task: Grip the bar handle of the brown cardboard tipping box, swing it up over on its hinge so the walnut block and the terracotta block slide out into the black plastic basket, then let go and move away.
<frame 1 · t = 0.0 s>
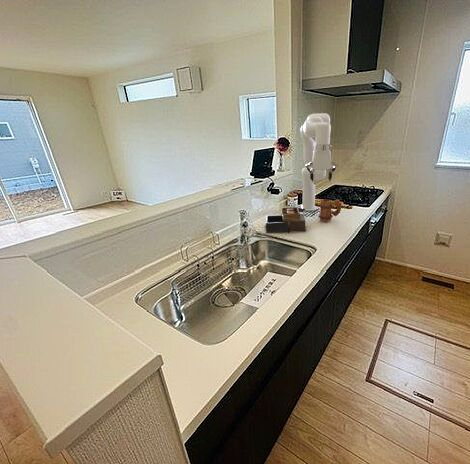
hand: (320, 180, 140), 31 cm above the table, tool pointing down, fingers open, 9 cm apart
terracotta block: (291, 218, 153), point 8 cm above the table, touching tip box
stand: (296, 227, 158), on the table
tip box: (293, 212, 154), point 10 cm above the table, hinge at 0.0°, touching stand, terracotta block, walnut block
basket: (277, 228, 158), on the table
mug: (329, 221, 168), on the table
walnut block: (290, 215, 158), point 8 cm above the table, touching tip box
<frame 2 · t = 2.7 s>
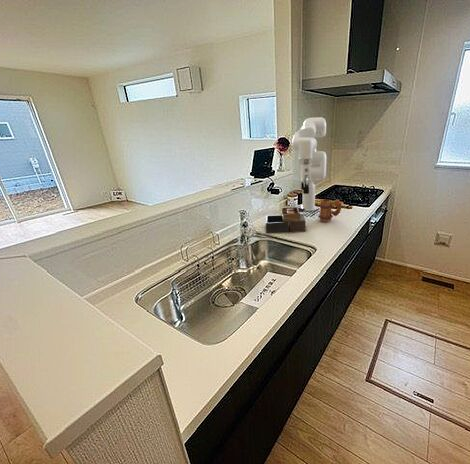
hand: (304, 191, 148), 24 cm above the table, tool pointing down, fingers open, 9 cm apart
nothing on the table moved.
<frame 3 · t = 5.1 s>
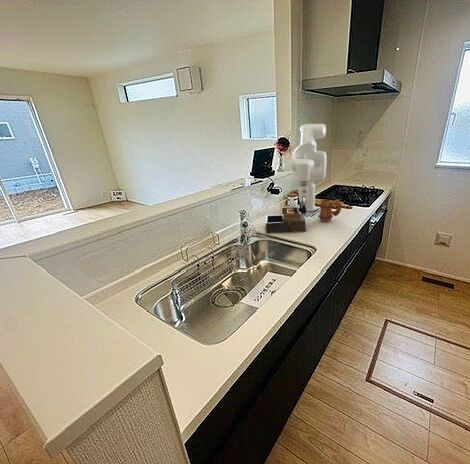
hand: (302, 211, 154), 11 cm above the table, tool pointing down, fingers closed on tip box, 6 cm apart
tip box: (293, 212, 154), point 10 cm above the table, hinge at 0.0°, touching gripper, stand, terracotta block, walnut block
everything else where it was.
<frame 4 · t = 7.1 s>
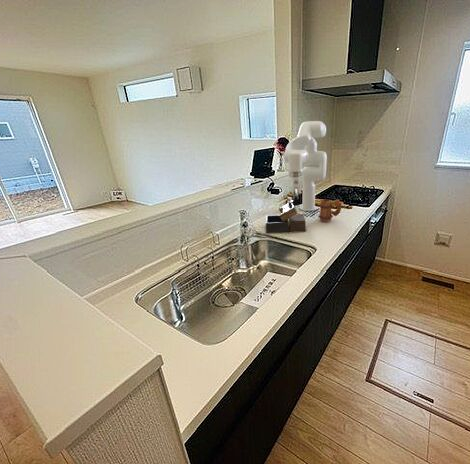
hand: (295, 203, 152), 16 cm above the table, tool pointing down, fingers closed on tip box, 6 cm apart
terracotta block: (289, 214, 152), point 10 cm above the table, tilted 30°, touching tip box
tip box: (289, 208, 153), point 13 cm above the table, hinge at 30.1°, touching gripper, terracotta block, walnut block
walnut block: (288, 211, 157), point 10 cm above the table, tilted 30°, touching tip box
everything else where it was.
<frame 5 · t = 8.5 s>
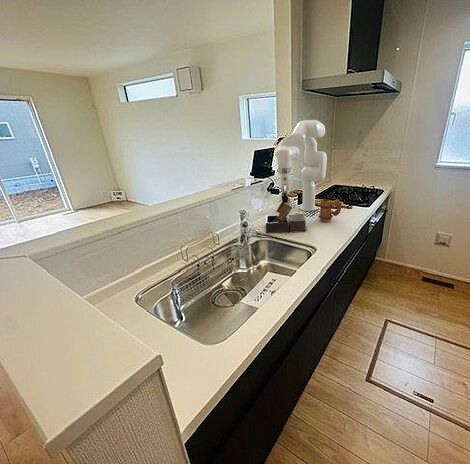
hand: (284, 200, 151), 18 cm above the table, tool pointing down, fingers closed on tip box, 6 cm apart
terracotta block: (276, 223, 154), point 5 cm above the table, tilted 180°, touching basket
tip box: (283, 206, 153), point 14 cm above the table, hinge at 56.5°, touching gripper
walnut block: (276, 220, 159), point 5 cm above the table, tilted 180°, touching basket
everything else where it was.
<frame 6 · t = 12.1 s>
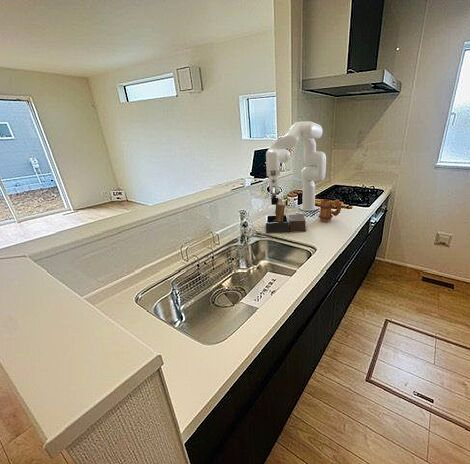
hand: (274, 202, 151), 17 cm above the table, tool pointing down, fingers open, 7 cm apart
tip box: (278, 207, 153), point 14 cm above the table, hinge at 83.1°, touching gripper
everything else where it was.
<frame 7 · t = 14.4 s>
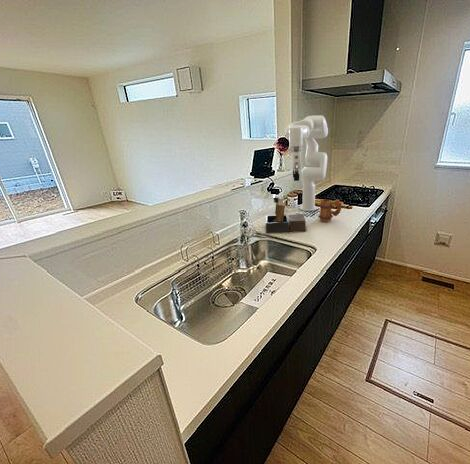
hand: (296, 178, 152), 30 cm above the table, tool pointing down, fingers open, 9 cm apart
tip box: (278, 207, 153), point 14 cm above the table, hinge at 82.8°
everything else where it was.
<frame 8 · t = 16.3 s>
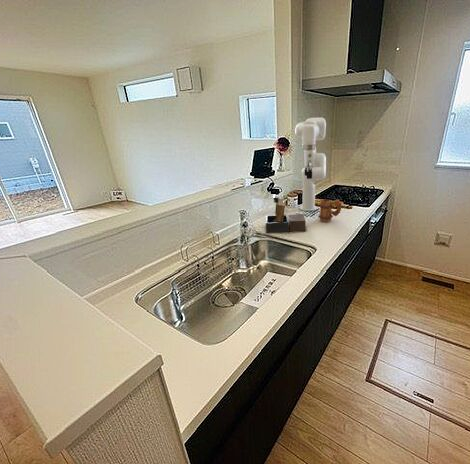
hand: (308, 177, 154), 30 cm above the table, tool pointing down, fingers open, 9 cm apart
nothing on the table moved.
at the end: walnut block inside the target area in the basket (3.0 cm from its centre), point 4.6 cm above the basket's base; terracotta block inside the target area in the basket (3.0 cm from its centre), point 4.6 cm above the basket's base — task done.
